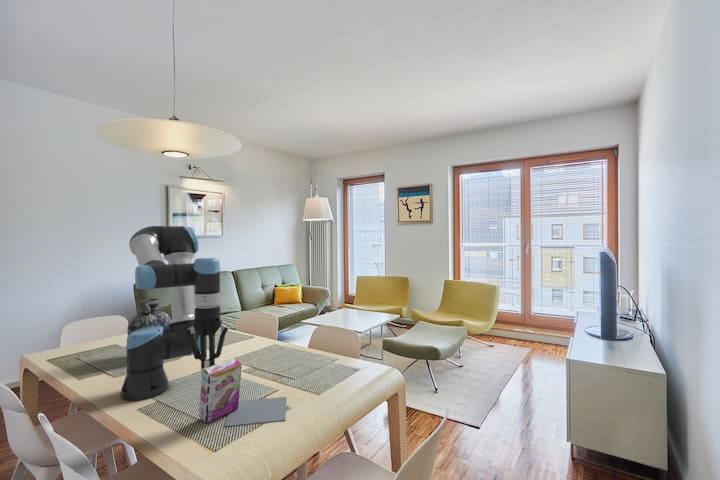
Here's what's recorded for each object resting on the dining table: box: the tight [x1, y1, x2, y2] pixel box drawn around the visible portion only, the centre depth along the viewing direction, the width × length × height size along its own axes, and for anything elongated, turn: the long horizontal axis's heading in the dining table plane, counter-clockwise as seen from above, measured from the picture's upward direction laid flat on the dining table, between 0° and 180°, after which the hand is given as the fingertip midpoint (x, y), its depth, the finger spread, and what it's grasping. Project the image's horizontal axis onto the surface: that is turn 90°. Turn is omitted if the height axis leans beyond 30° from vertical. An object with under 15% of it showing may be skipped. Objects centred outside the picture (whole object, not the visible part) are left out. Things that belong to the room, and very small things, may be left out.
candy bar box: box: [198, 358, 243, 424], centre depth 109 cm, size 11×5×16 cm, turn 141°
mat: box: [224, 396, 287, 428], centre depth 113 cm, size 18×16×1 cm
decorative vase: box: [126, 297, 172, 336], centre depth 167 cm, size 21×19×28 cm
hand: (208, 379), depth 109 cm, fingers closed
